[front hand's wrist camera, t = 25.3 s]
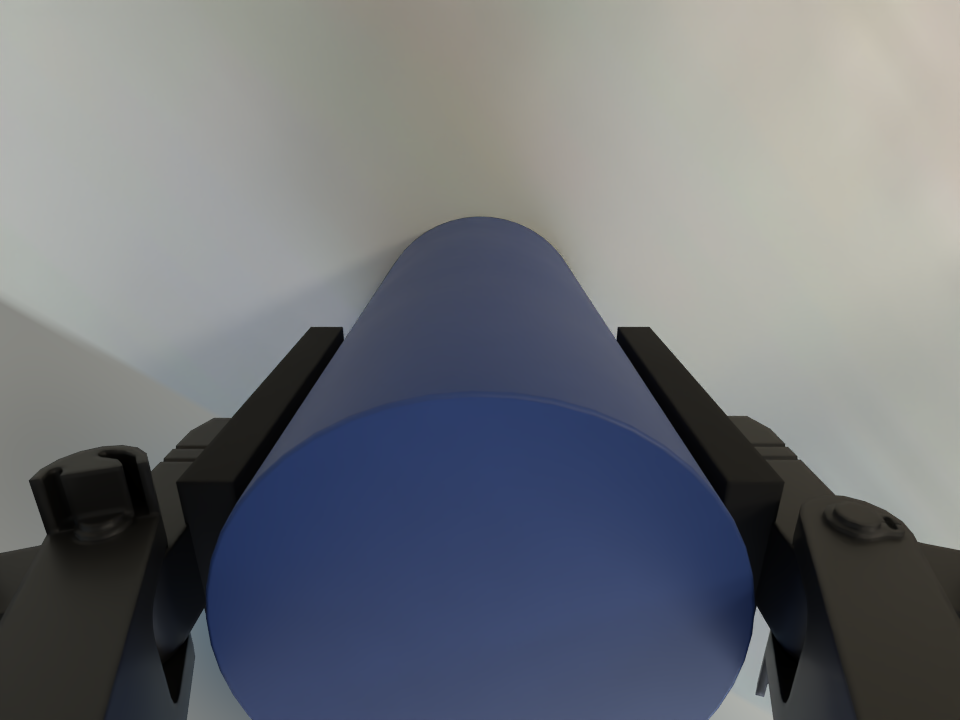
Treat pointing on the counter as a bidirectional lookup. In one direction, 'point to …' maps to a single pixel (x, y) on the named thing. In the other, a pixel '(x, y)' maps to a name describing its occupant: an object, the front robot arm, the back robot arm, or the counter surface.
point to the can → (480, 517)
